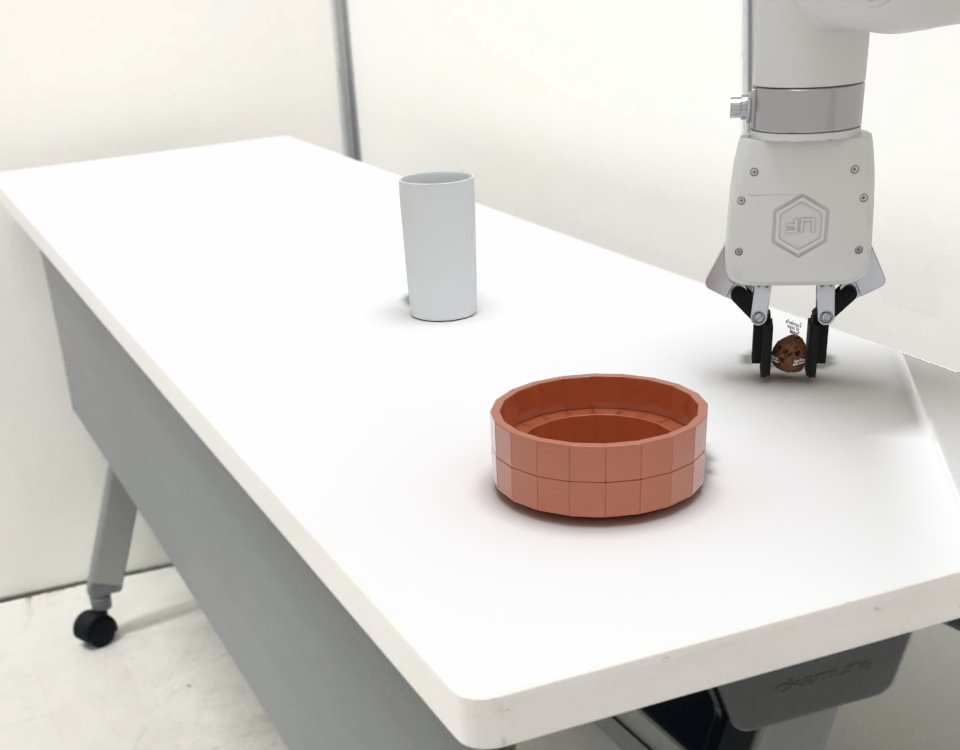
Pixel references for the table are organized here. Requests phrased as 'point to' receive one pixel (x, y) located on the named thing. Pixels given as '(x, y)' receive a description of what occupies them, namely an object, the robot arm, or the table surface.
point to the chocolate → (790, 351)
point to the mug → (440, 243)
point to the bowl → (599, 444)
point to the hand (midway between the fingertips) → (787, 370)
